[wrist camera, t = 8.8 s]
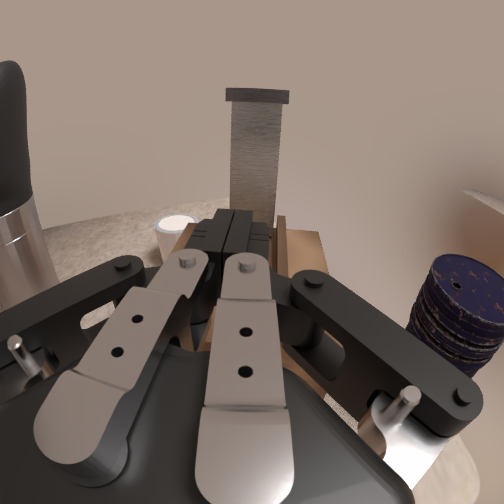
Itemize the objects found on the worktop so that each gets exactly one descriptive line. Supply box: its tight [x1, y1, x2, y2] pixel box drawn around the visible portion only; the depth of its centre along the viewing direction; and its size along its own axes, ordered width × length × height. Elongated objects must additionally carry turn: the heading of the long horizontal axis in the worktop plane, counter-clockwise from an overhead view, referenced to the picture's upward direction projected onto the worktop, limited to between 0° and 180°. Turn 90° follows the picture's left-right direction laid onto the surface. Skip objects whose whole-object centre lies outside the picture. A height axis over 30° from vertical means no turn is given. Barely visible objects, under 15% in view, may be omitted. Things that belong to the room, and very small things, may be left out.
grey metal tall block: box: [226, 88, 289, 237], centre depth 26 cm, size 5×4×14 cm
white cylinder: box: [154, 214, 199, 263], centre depth 44 cm, size 7×7×7 cm
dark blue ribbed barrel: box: [405, 254, 504, 379], centre depth 22 cm, size 10×10×15 cm
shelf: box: [168, 216, 344, 399], centre depth 27 cm, size 14×16×14 cm
